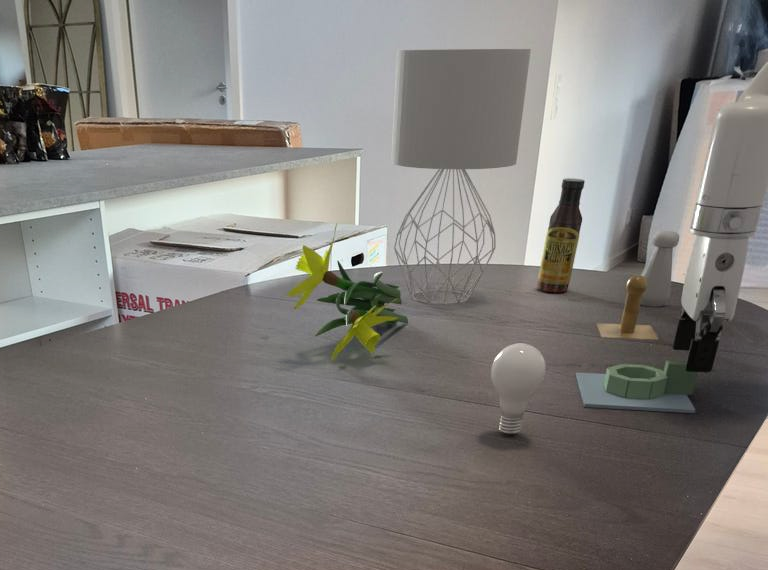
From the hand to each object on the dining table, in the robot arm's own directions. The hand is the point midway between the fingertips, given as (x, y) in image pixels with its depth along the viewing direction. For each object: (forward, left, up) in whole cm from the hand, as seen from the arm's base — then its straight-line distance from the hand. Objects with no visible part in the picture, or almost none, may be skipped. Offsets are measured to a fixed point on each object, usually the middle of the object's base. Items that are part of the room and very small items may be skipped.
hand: (690, 360), depth 114 cm
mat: (+7, 0, -5) cm, 8 cm away
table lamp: (+36, -54, -5) cm, 65 cm away
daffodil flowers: (+48, -19, -5) cm, 52 cm away
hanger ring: (+5, 0, -4) cm, 6 cm away
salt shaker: (-3, -52, -5) cm, 52 cm away
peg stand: (+4, -31, -5) cm, 31 cm away
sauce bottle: (+14, -64, -5) cm, 65 cm away
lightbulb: (+24, +19, -5) cm, 31 cm away
